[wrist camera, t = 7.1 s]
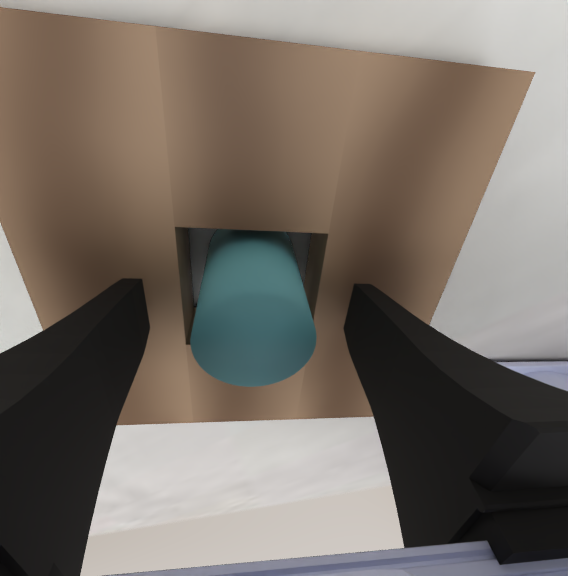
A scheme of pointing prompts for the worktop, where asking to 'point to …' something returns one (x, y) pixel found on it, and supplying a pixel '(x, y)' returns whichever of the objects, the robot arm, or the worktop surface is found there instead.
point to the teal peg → (252, 310)
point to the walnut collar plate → (237, 184)
